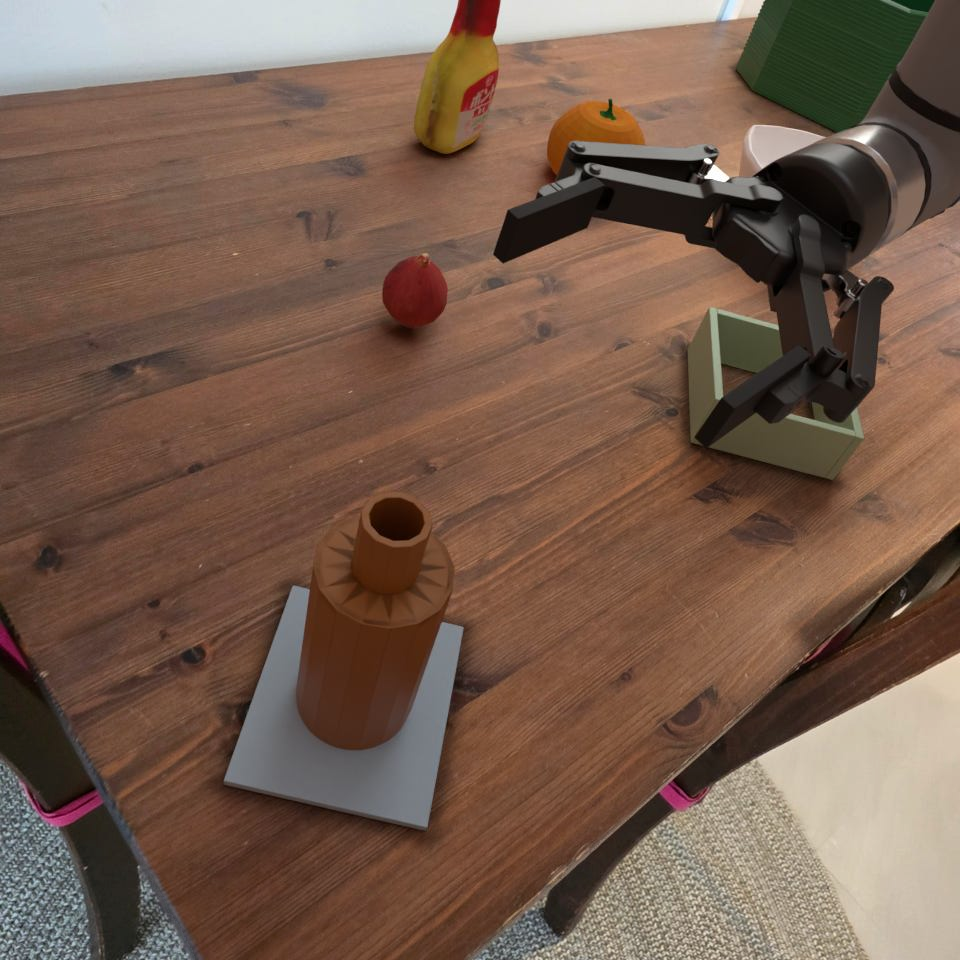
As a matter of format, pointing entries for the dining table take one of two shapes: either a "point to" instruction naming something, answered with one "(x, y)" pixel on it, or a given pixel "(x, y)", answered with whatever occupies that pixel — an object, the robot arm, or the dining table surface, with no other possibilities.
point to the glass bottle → (371, 621)
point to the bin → (782, 444)
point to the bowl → (771, 146)
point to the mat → (334, 771)
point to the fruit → (592, 129)
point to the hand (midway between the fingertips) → (603, 326)
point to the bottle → (460, 80)
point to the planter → (828, 54)
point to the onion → (415, 291)
